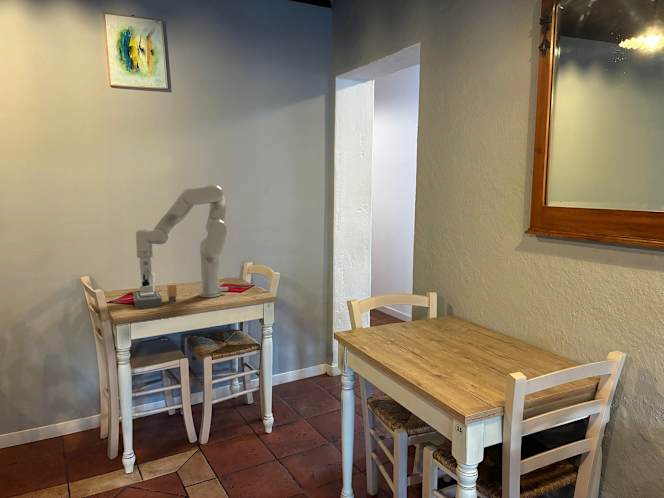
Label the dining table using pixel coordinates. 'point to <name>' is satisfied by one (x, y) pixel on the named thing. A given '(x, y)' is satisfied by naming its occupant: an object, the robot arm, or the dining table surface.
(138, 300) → the grey sliding cover box
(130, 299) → the dining table surface
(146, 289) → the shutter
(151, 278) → the white cup
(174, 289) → the tan rectangular block
